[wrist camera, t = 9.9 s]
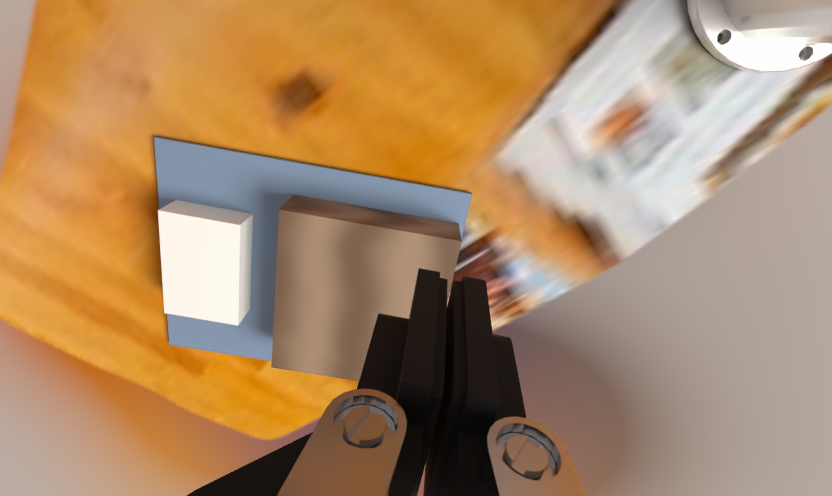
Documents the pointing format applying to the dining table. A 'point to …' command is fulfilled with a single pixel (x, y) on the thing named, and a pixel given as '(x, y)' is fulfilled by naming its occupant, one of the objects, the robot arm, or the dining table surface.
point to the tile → (205, 261)
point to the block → (348, 279)
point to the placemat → (274, 221)
